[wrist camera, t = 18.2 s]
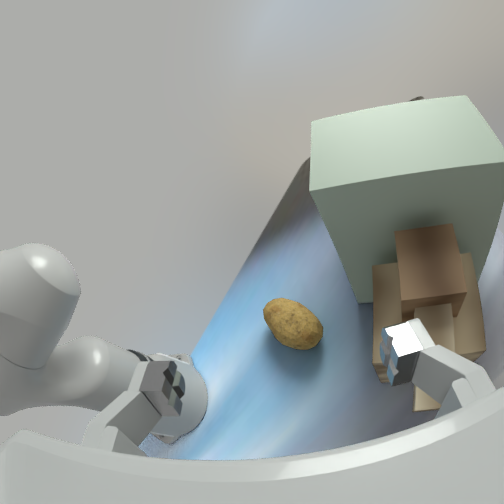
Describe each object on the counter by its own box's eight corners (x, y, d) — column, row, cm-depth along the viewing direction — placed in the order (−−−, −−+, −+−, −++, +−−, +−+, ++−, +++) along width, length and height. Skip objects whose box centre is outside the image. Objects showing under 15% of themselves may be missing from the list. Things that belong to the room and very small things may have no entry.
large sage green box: (358, 303, 45) (309, 191, 26) (356, 241, 51) (311, 121, 32) (474, 289, 35) (511, 161, 17) (460, 227, 42) (465, 95, 23)
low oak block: (381, 382, 36) (372, 363, 25) (382, 313, 42) (371, 265, 31) (458, 375, 30) (486, 350, 20) (454, 304, 36) (470, 252, 25)
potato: (306, 365, 43) (293, 356, 39) (264, 325, 51) (247, 312, 46) (335, 334, 44) (325, 321, 39) (290, 297, 51) (276, 281, 47)
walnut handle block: (399, 413, 21) (400, 410, 17) (397, 263, 30) (394, 231, 25) (459, 406, 18) (474, 402, 14) (447, 256, 27) (452, 223, 22)
